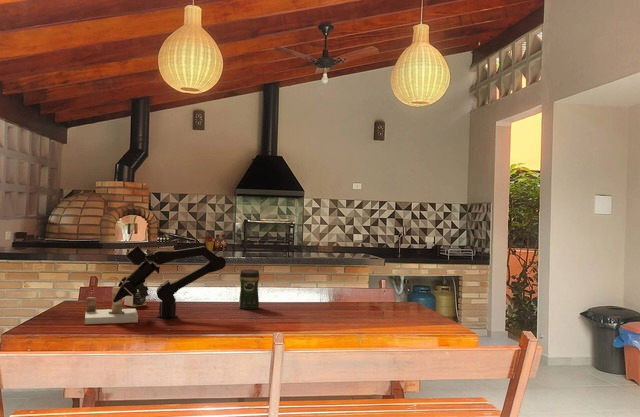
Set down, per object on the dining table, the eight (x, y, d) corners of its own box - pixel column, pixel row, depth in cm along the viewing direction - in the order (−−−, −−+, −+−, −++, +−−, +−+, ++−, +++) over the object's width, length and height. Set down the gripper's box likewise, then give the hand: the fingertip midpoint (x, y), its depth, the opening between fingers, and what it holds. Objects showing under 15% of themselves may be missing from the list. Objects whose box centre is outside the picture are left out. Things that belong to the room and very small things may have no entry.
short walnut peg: (98, 310, 236) (98, 297, 236) (90, 312, 232) (90, 299, 232) (91, 309, 238) (92, 296, 238) (83, 311, 234) (84, 298, 234)
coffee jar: (258, 306, 274) (260, 268, 274) (258, 309, 266) (259, 270, 266) (238, 306, 273) (240, 268, 273) (238, 309, 265) (239, 270, 265)
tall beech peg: (123, 318, 234) (124, 287, 234) (115, 320, 231) (116, 288, 231) (118, 317, 236) (119, 286, 236) (109, 318, 233) (110, 287, 233)
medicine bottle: (132, 306, 261) (133, 281, 261) (123, 304, 266) (124, 279, 266) (145, 305, 267) (146, 280, 267) (136, 303, 271) (137, 278, 271)
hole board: (135, 314, 244) (135, 308, 244) (137, 322, 228) (138, 316, 228) (85, 315, 237) (85, 310, 237) (84, 324, 221) (85, 317, 221)
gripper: (157, 289, 230) (128, 317, 226) (153, 283, 248) (126, 309, 244) (138, 270, 227) (108, 298, 223) (135, 265, 245) (107, 291, 241)
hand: (113, 300), depth 233 cm, fingers open, 9 cm apart
